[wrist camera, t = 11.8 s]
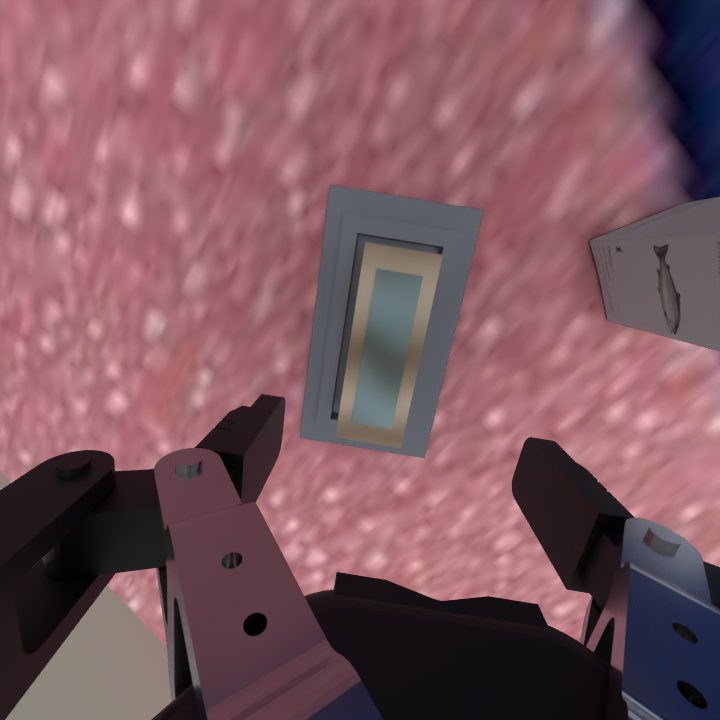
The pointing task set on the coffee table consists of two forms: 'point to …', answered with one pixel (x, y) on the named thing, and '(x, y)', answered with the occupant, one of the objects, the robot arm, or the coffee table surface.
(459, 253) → the grey rectangular framed panel
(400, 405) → the oak frame
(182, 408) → the coffee table surface
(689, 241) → the supplement box
